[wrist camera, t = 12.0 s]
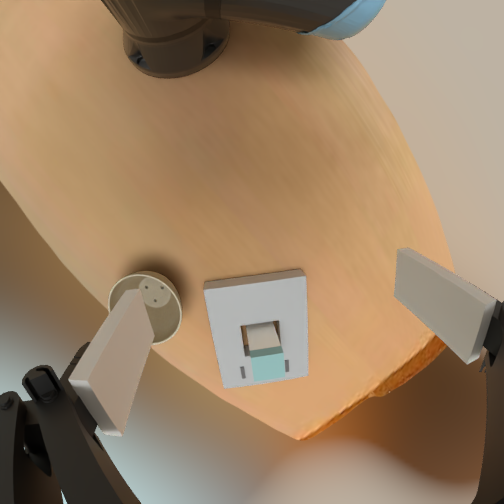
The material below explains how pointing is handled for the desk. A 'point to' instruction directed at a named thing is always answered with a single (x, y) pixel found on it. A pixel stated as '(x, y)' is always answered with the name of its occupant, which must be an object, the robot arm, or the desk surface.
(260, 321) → the outlet plate
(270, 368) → the block
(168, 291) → the flower pot
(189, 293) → the desk surface
